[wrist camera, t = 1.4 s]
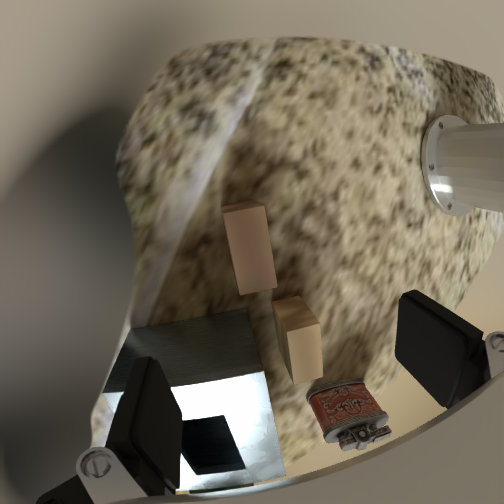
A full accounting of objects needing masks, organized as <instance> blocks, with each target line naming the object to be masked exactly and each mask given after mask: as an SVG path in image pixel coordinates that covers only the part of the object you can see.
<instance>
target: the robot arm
mask: <svg viewBox="0 0 504 504" xmlns="http://www.w3.org/2000/svg"><path fill="white" fill-rule="evenodd" d="M421 161H422V171H423V176H424V181H425V184H426V187H427V190H428V192H429V194H430V196H431V198H432V200H433V201H434V203H435V204H436V205H437V206H438V207H439V208H440V209H441V210H442V211H443V212H445V213H446V214H450V215H453V216H463V215H466V214H468V213H469V212H471V211H472V210H473V209H474V207H477V208H482V209H487V210H492V211H496V212H501V213H504V123H491V124H478V125H468V124H467V123H466V122H465V121H464V120H463V119H461V118H460V117H458V116H455V115H443V116H439V117H437V118H435V119H434V120H433V121H432V122H431V123H430V124H429V126H428V128H427V130H426V132H425V135H424V138H423V143H422V153H421ZM483 333H484V332H482V331H481V330H479V329H478V328H476V327H475V326H473V325H472V324H470V323H469V322H467V321H465V320H464V319H463V318H461V317H459V316H458V315H456V314H455V313H453V312H452V311H450V310H449V309H447V308H445V307H444V306H442V305H441V304H439V303H437V302H436V301H434V300H433V299H431V298H429V297H428V296H426V295H424V294H423V293H421V292H419V291H418V290H411V291H409V292H406V293H403V294H402V296H401V298H400V299H399V306H398V322H397V334H396V344H395V357H396V359H397V360H398V361H399V362H400V363H401V364H402V365H403V366H404V367H405V368H406V369H407V370H408V372H409V373H410V374H411V375H412V376H413V377H414V378H415V379H416V380H417V381H418V382H419V383H420V384H421V385H422V386H423V387H424V388H425V389H426V390H427V392H428V393H430V395H431V396H432V397H433V398H434V399H435V400H436V401H437V402H438V403H439V404H440V405H441V406H442V407H446V408H447V409H448V410H446V411H445V412H443V413H442V414H440V415H438V416H437V417H435V418H434V419H432V420H430V421H428V422H427V423H425V424H423V425H421V426H420V427H418V428H416V429H414V430H413V431H410V432H409V433H407V434H405V435H403V436H401V437H399V438H397V439H395V440H393V441H391V442H389V443H386V444H385V445H382V446H380V447H378V448H376V449H373V450H371V451H369V452H366V453H364V454H361V455H359V456H357V457H354V458H351V459H349V460H346V461H343V462H341V463H338V464H335V465H332V466H329V467H326V468H323V469H320V470H317V471H313V472H310V473H307V474H303V475H300V476H296V477H292V478H288V479H285V480H280V481H276V482H271V483H266V484H261V485H256V486H250V487H244V488H238V489H231V490H224V491H216V492H207V493H196V494H180V495H175V492H176V489H179V488H180V469H181V442H182V423H183V415H182V411H181V408H180V406H179V404H178V402H177V400H176V398H175V396H174V394H173V392H172V390H171V388H170V385H169V383H168V381H167V379H166V377H165V375H164V372H163V370H162V368H161V366H160V363H159V361H158V360H157V359H153V358H152V357H151V356H147V357H139V358H136V359H135V361H134V364H133V367H132V370H131V372H130V375H129V378H128V381H127V384H126V387H125V390H124V393H123V394H122V395H121V397H120V399H119V402H118V405H117V408H116V411H115V415H114V418H113V421H112V424H111V428H110V431H109V434H108V438H107V441H106V445H105V447H93V448H90V449H88V450H86V451H85V452H84V453H82V454H81V456H80V457H79V459H78V461H77V463H76V470H77V473H78V475H76V476H74V477H73V478H71V479H69V480H68V481H66V482H64V483H63V484H61V485H59V486H57V487H56V488H54V489H52V490H50V491H49V492H47V493H45V494H43V495H42V496H41V497H39V499H38V500H37V502H36V504H504V332H493V333H491V334H489V335H488V336H487V337H486V339H485V341H484V340H482V337H483Z"/></svg>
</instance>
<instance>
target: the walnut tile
mask: <svg viewBox="0 0 504 504" xmlns="http://www.w3.org/2000/svg"><path fill="white" fill-rule="evenodd" d="M221 211H222V216H223V221H224V226H225V231H226V236H227V241H228V246H229V251H230V256H231V261H232V266H233V271H234V275H235V278H236V282H237V286H238V290H239V294H240V295H245V294H250V293H254V292H259V291H263V290H268V289H272V288H277V280H276V274H275V267H274V261H273V255H272V249H271V242H270V236H269V230H268V224H267V218H266V212H265V206H264V205H262V204H260V203H258V202H256V201H254V200H248V201H243V202H237V203H232V204H227V205H222V206H221Z"/></svg>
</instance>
